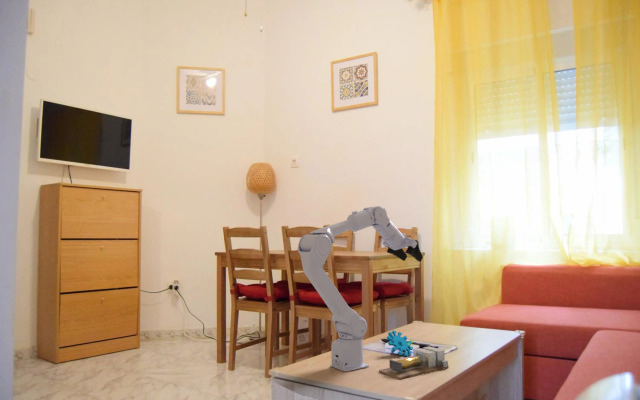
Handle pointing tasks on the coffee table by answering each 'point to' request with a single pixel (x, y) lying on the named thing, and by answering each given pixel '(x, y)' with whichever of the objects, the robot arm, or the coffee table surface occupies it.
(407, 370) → the board
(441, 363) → the link
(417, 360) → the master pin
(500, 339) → the coffee table surface
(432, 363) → the link
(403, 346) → the gear
